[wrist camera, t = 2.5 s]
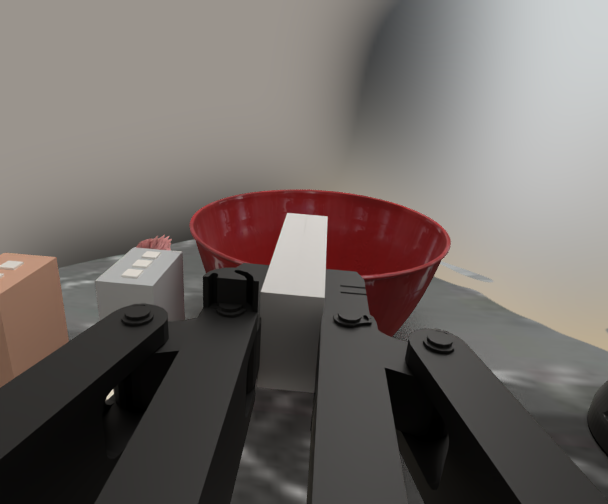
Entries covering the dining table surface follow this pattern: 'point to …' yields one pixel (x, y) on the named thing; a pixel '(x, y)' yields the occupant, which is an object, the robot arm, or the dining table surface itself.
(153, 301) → the grey block
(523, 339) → the dining table surface
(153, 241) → the flower
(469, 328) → the dining table surface
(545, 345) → the dining table surface
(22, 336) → the terracotta block
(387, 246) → the mixing bowl
